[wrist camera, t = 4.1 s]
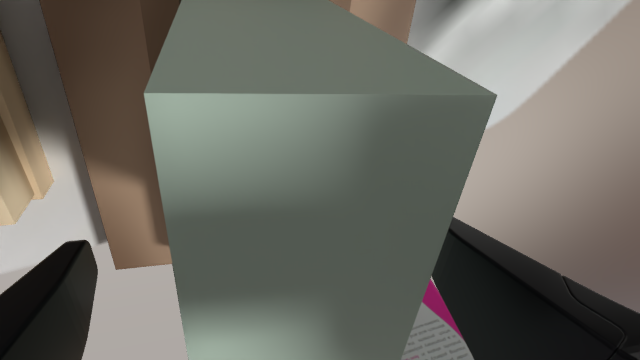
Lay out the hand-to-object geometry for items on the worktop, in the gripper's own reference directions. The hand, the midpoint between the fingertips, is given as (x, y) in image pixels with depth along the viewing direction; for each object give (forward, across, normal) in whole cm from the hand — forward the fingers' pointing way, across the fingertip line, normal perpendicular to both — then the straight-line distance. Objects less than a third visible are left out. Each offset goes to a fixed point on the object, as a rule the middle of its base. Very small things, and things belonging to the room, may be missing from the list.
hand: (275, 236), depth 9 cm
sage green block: (+9, 0, 0) cm, 9 cm away
